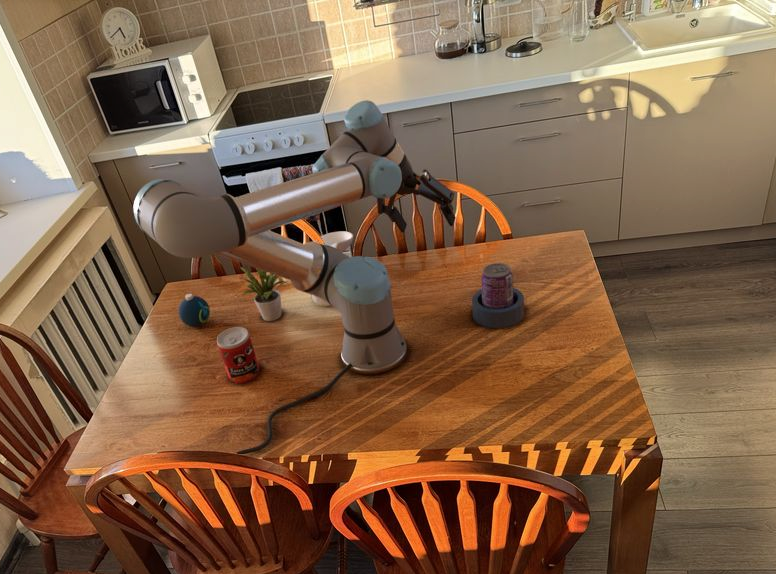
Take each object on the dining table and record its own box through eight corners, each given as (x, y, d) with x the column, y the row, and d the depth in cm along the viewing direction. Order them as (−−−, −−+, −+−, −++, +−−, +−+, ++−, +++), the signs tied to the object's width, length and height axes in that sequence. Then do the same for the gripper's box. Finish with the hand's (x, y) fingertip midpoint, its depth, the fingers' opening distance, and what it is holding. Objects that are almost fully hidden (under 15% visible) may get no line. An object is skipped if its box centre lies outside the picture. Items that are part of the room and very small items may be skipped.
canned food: (231, 387, 151) (218, 350, 145) (226, 369, 158) (214, 332, 151) (262, 378, 152) (251, 340, 146) (256, 359, 159) (245, 322, 152)
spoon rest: (317, 244, 204) (313, 223, 200) (354, 238, 203) (351, 217, 199) (315, 281, 185) (310, 259, 181) (356, 275, 184) (352, 252, 179)
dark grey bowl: (500, 334, 149) (500, 318, 146) (462, 316, 157) (461, 301, 155) (534, 311, 154) (534, 295, 151) (495, 295, 162) (495, 280, 160)
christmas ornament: (192, 336, 173) (180, 305, 167) (178, 325, 179) (167, 295, 173) (219, 322, 176) (208, 291, 170) (205, 312, 182) (194, 281, 177)
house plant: (308, 320, 169) (295, 265, 160) (259, 338, 166) (243, 283, 157) (290, 297, 180) (278, 244, 171) (244, 314, 178) (228, 261, 168)
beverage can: (508, 303, 158) (508, 259, 151) (517, 318, 152) (516, 274, 145) (479, 307, 159) (477, 265, 152) (486, 323, 153) (484, 279, 146)
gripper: (443, 140, 141) (478, 207, 155) (350, 161, 156) (389, 220, 171) (435, 164, 138) (471, 230, 152) (340, 183, 153) (381, 242, 167)
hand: (428, 225), depth 161 cm, fingers open, 13 cm apart
